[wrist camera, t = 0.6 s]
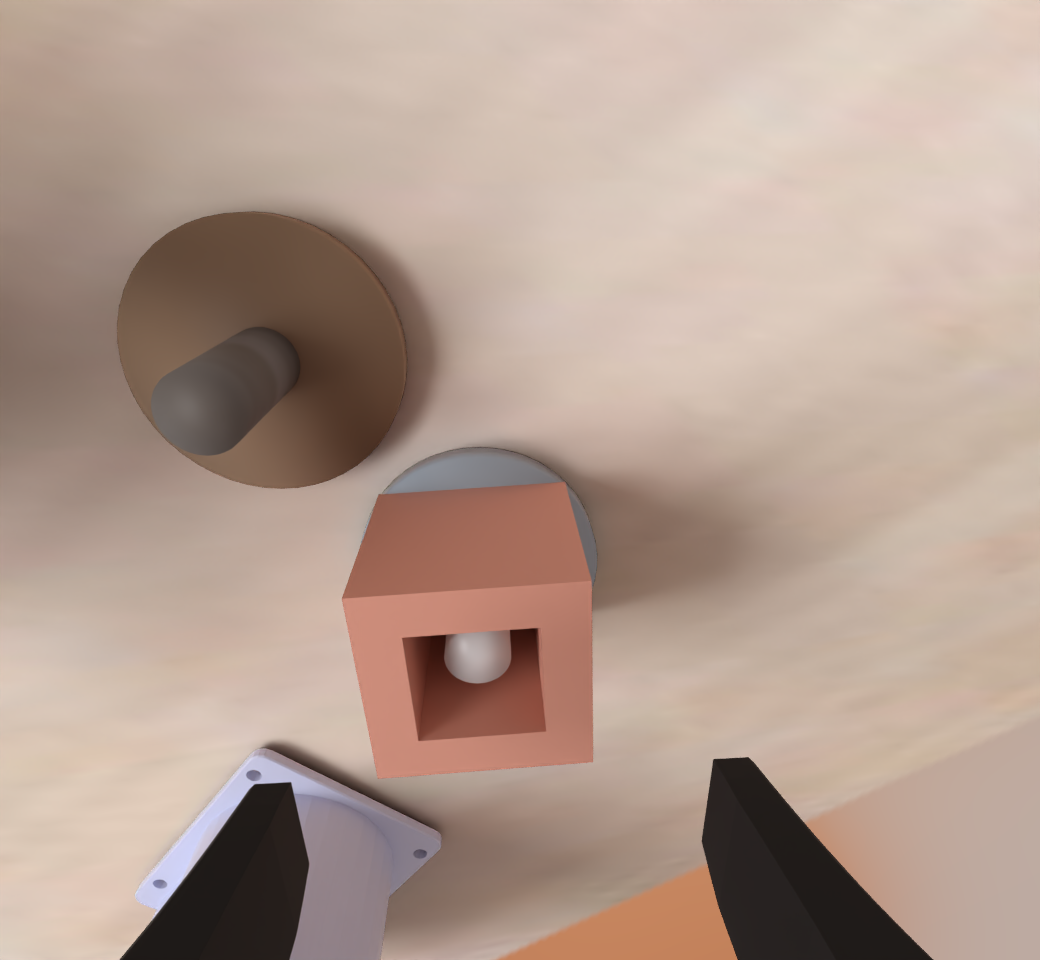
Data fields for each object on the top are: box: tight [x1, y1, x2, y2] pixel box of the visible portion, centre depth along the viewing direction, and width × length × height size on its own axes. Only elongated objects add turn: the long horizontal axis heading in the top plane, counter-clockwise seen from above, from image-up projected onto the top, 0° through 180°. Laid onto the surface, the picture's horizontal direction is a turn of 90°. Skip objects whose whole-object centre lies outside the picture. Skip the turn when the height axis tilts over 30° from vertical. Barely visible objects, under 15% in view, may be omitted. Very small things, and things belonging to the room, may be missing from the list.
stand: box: [361, 447, 597, 683], centre depth 18 cm, size 7×7×5 cm
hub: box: [117, 212, 407, 489], centre depth 15 cm, size 7×7×5 cm
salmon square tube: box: [342, 482, 593, 779], centre depth 17 cm, size 5×5×5 cm
